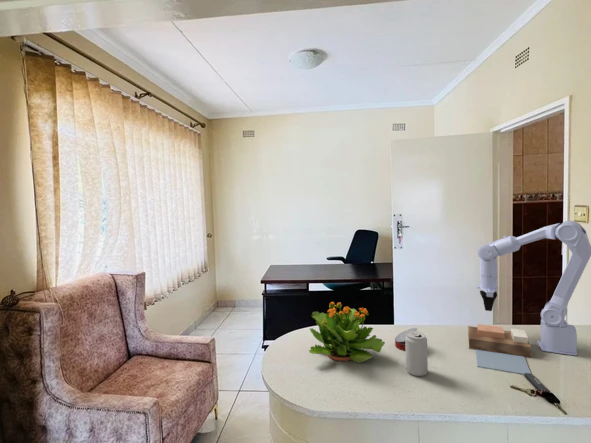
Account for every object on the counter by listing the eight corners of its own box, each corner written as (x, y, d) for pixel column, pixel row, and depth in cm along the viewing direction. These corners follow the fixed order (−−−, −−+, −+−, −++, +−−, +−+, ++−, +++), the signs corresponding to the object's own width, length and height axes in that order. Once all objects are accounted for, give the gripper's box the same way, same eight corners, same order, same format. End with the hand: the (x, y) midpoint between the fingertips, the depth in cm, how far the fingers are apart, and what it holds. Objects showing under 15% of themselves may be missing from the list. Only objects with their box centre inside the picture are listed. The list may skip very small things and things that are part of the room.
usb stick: (551, 396, 88) (551, 391, 88) (540, 396, 89) (540, 390, 88) (532, 377, 97) (532, 372, 97) (522, 376, 98) (522, 371, 98)
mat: (524, 357, 108) (524, 356, 108) (531, 375, 97) (531, 374, 97) (475, 350, 114) (475, 349, 114) (477, 366, 104) (477, 366, 104)
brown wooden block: (524, 342, 119) (524, 332, 119) (531, 357, 108) (531, 347, 108) (468, 335, 127) (468, 326, 127) (469, 348, 116) (469, 338, 116)
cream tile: (524, 335, 117) (524, 329, 117) (527, 343, 110) (527, 337, 110) (510, 333, 118) (510, 328, 118) (513, 341, 112) (513, 336, 112)
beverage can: (417, 379, 98) (416, 340, 97) (401, 370, 104) (400, 333, 103) (432, 373, 101) (431, 335, 100) (415, 364, 107) (415, 328, 106)
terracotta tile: (502, 332, 120) (502, 326, 120) (504, 338, 115) (504, 333, 114) (477, 329, 124) (477, 324, 123) (478, 335, 118) (478, 330, 118)
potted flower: (324, 380, 100) (322, 324, 99) (292, 349, 121) (290, 302, 120) (389, 360, 110) (388, 309, 109) (350, 335, 132) (348, 292, 130)
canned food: (411, 363, 116) (405, 346, 112) (392, 351, 123) (386, 334, 120) (429, 344, 119) (423, 327, 116) (409, 334, 127) (403, 317, 123)
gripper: (475, 270, 134) (475, 303, 135) (477, 279, 121) (477, 315, 122) (495, 271, 131) (495, 305, 132) (499, 280, 118) (499, 317, 119)
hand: (488, 310), depth 127 cm, fingers closed
